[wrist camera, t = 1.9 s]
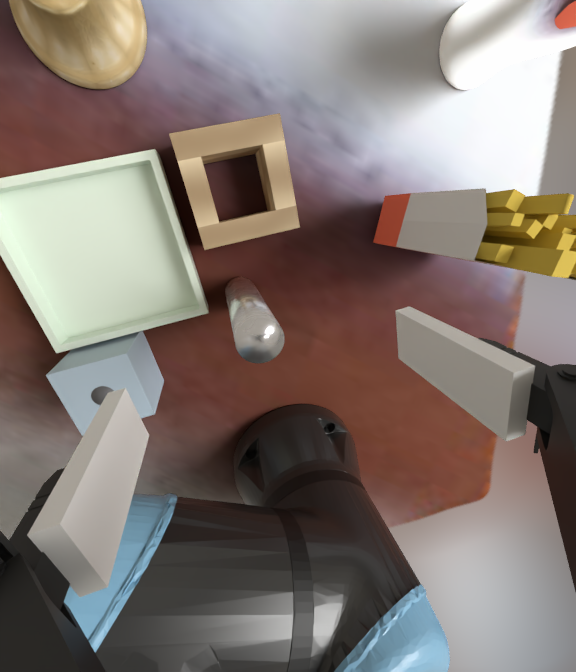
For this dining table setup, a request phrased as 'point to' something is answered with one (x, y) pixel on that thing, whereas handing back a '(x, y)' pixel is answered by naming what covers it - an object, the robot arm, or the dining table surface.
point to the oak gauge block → (228, 144)
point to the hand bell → (85, 38)
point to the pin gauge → (252, 322)
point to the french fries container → (485, 228)
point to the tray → (99, 249)
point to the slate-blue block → (107, 377)
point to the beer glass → (502, 36)
